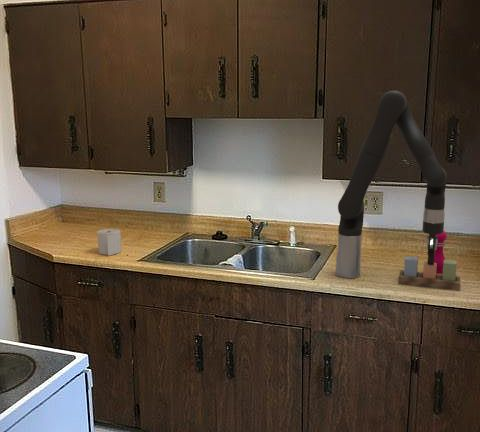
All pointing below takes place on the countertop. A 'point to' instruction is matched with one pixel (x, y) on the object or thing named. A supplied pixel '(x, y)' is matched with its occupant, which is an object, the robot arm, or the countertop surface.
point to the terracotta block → (429, 270)
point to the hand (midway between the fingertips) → (430, 264)
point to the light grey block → (109, 241)
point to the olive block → (449, 270)
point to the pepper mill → (440, 252)
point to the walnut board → (429, 281)
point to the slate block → (410, 266)
